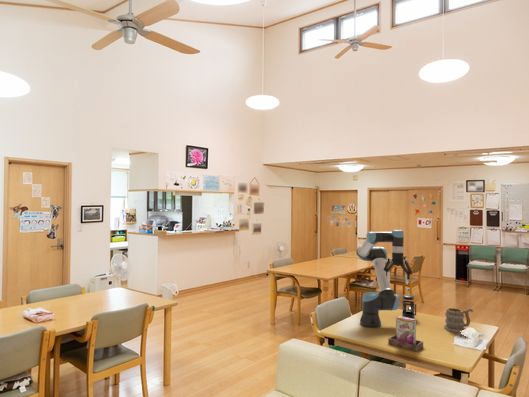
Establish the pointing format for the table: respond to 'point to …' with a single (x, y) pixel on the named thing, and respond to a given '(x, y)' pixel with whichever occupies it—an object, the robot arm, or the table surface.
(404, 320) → the candy bar box
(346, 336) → the table surface
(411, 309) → the french press
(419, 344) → the holder tray
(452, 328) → the tankard
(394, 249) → the robot arm
